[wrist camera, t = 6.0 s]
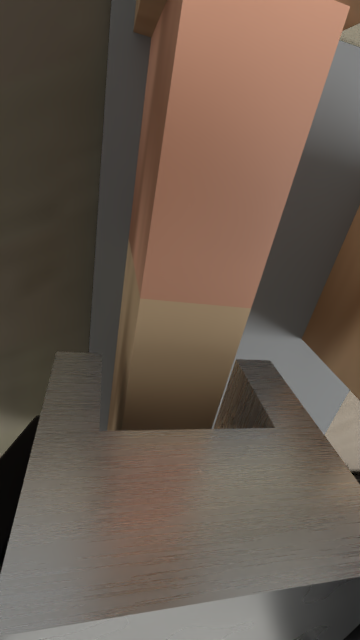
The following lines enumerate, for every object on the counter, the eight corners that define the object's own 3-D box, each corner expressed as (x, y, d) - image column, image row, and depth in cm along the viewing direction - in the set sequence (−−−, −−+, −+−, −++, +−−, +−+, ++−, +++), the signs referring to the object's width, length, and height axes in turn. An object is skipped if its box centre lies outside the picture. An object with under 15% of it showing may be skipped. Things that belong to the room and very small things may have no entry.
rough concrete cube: (231, 459, 10) (311, 670, 6) (55, 467, 9) (10, 744, 5) (270, 360, 8) (419, 567, 4) (56, 351, 7) (-17, 638, 3)
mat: (319, 429, 16) (323, 435, 16) (83, 434, 13) (82, 442, 13) (498, 103, 10) (513, 102, 9) (113, -32, 7) (113, -41, 6)
